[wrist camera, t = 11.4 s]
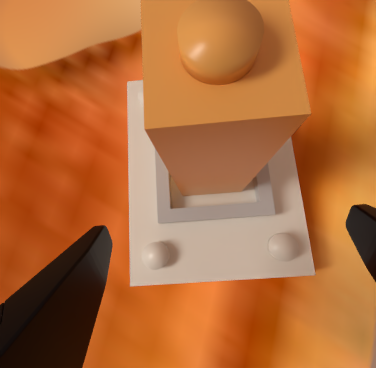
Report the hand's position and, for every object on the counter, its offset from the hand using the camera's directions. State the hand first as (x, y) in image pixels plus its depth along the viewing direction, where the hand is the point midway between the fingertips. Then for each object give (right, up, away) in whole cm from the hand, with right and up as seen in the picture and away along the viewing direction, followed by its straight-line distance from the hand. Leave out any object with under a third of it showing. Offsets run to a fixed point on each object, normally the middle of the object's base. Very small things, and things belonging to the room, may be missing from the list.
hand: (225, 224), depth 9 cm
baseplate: (+1, +3, +12) cm, 12 cm away
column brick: (0, +3, +11) cm, 11 cm away
